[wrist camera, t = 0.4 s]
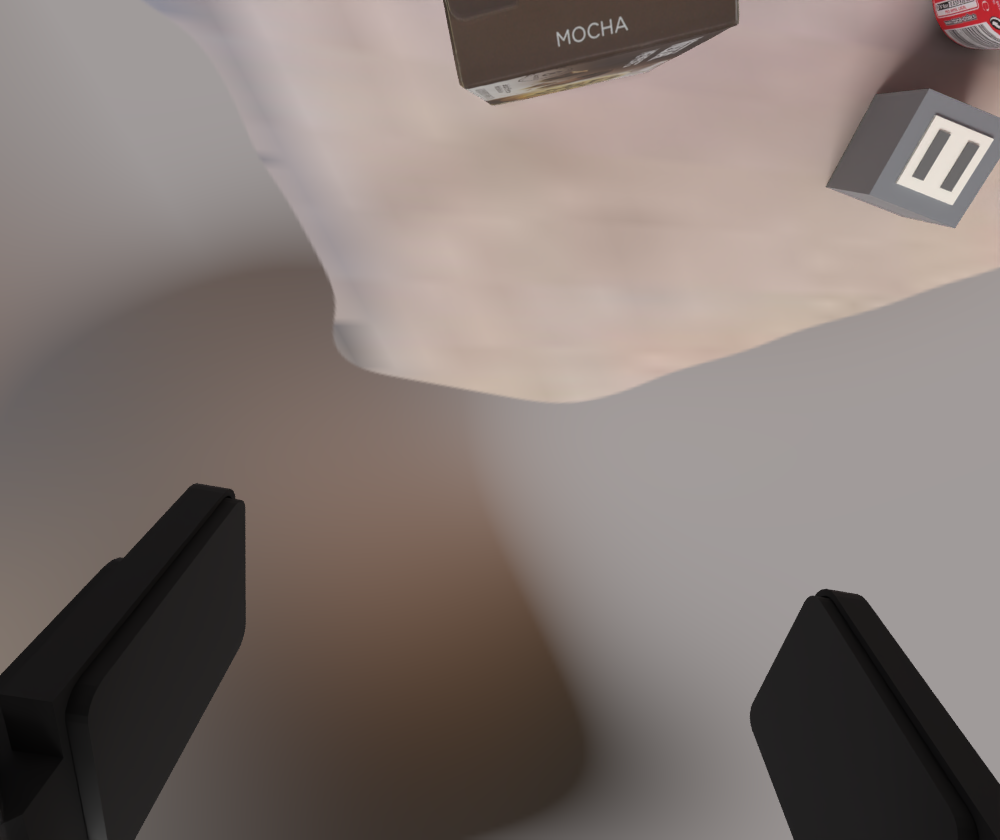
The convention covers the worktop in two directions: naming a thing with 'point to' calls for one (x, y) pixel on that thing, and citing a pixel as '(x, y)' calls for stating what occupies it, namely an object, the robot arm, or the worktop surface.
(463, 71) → the coffee box
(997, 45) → the soda can
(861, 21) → the worktop surface
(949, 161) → the charcoal block
